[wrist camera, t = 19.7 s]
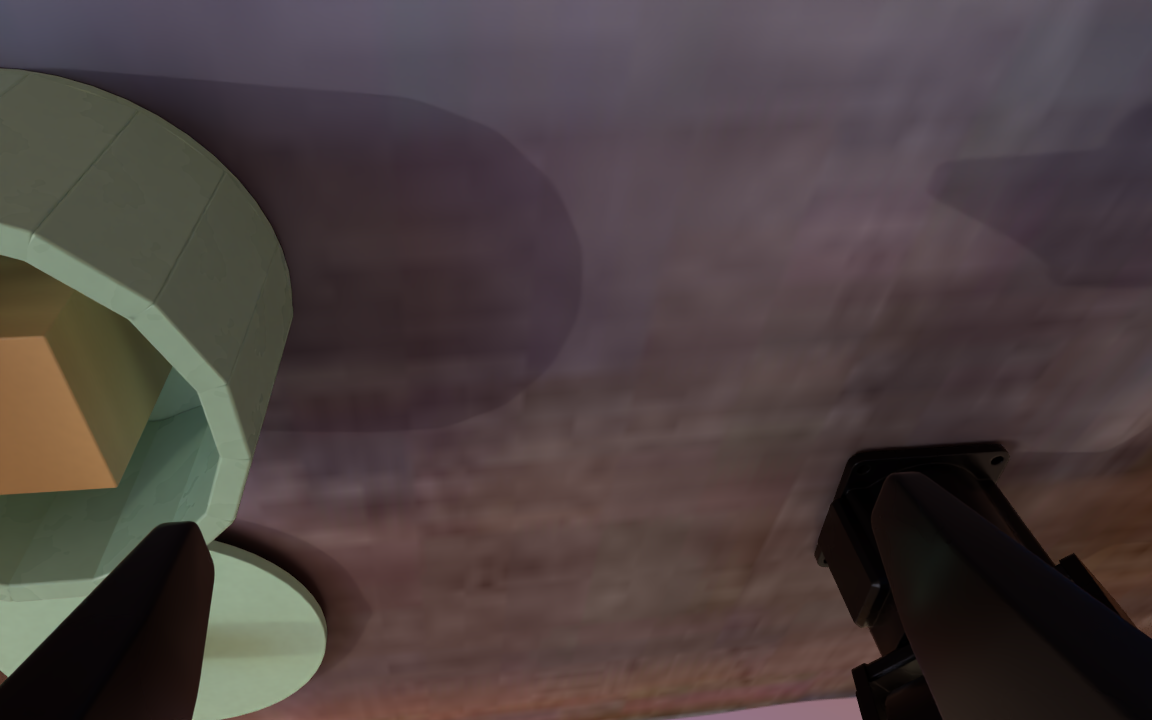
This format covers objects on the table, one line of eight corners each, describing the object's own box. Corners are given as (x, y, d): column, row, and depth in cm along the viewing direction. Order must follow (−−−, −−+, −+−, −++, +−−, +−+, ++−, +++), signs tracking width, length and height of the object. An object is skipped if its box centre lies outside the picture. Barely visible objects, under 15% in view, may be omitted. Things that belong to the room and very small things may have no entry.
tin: (243, 65, 18) (164, 183, 13) (322, 418, 26) (290, 581, 21) (-294, 67, 17) (-601, 198, 12) (-54, 439, 24) (-186, 619, 19)
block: (132, 209, 20) (44, 336, 16) (181, 348, 23) (117, 488, 18) (-58, 214, 19) (-203, 346, 15) (16, 355, 22) (-89, 501, 18)
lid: (299, 504, 28) (273, 630, 24) (349, 685, 35) (336, 803, 32) (-77, 529, 26) (-171, 667, 22) (60, 712, 34) (8, 839, 30)
